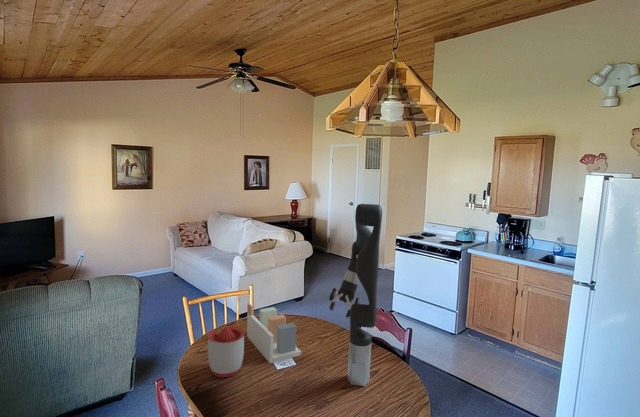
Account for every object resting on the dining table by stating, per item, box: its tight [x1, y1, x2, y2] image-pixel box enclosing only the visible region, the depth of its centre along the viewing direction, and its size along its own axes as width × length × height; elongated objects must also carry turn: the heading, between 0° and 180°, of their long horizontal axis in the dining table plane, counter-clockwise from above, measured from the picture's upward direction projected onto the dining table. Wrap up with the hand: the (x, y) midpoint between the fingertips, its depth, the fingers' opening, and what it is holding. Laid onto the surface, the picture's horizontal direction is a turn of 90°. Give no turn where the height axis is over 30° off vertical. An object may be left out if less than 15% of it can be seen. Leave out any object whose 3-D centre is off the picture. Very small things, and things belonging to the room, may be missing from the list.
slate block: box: [277, 322, 297, 354], centre depth 178 cm, size 8×4×12 cm, turn 121°
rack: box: [246, 302, 302, 364], centre depth 186 cm, size 16×30×18 cm, turn 31°
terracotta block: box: [268, 314, 287, 343], centre depth 187 cm, size 8×4×12 cm, turn 121°
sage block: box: [258, 306, 278, 329], centre depth 197 cm, size 8×4×12 cm, turn 121°
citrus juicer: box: [207, 325, 246, 379], centre depth 163 cm, size 16×17×20 cm
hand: (339, 313), depth 178 cm, fingers open, 8 cm apart
